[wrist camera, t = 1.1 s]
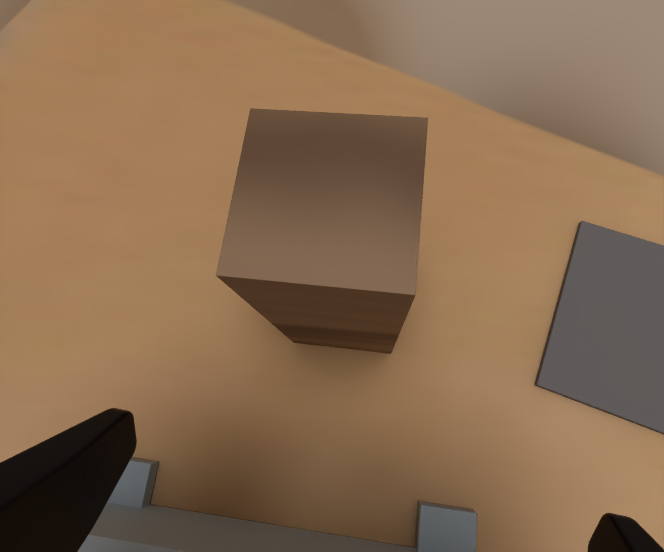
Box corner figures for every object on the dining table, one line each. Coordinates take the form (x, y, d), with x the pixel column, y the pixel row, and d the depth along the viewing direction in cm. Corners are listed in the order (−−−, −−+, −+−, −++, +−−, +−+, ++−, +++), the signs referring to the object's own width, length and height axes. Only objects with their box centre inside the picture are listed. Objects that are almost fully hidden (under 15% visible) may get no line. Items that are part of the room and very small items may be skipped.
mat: (739, 462, 19) (744, 463, 19) (534, 384, 21) (537, 384, 21) (766, 280, 21) (771, 278, 21) (579, 223, 23) (582, 220, 23)
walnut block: (393, 353, 22) (421, 295, 10) (293, 342, 22) (215, 275, 11) (401, 260, 23) (433, 118, 12) (307, 251, 24) (250, 108, 12)
